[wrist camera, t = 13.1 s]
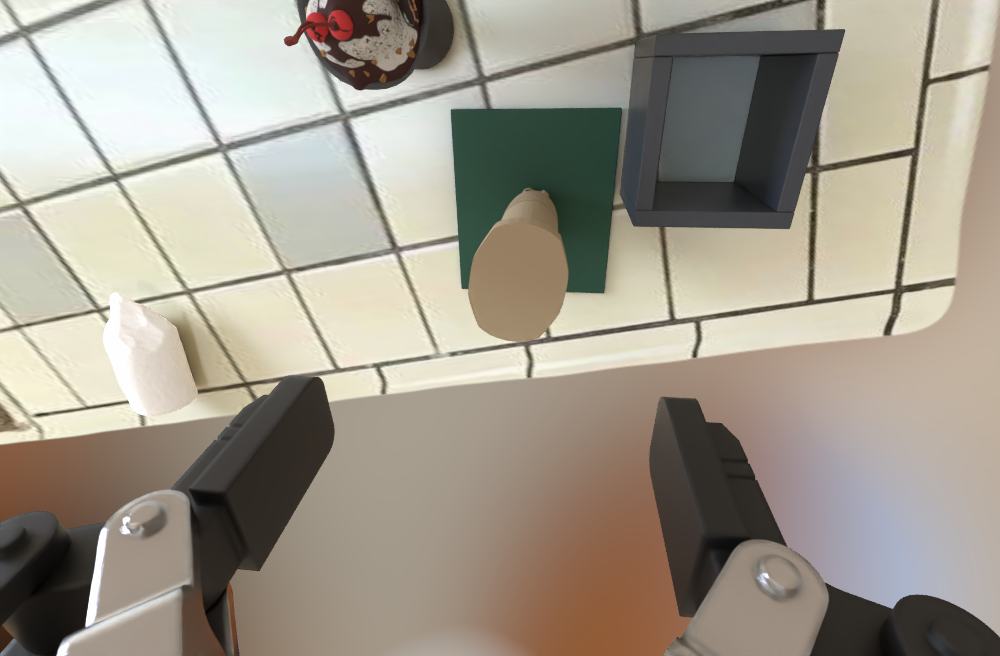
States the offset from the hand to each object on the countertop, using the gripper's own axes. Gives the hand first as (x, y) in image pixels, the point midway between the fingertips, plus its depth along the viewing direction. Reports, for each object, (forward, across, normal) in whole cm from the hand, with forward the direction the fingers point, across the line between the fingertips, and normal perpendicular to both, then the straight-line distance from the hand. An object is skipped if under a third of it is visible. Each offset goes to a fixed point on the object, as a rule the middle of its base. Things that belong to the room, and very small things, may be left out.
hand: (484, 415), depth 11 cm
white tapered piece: (+28, +36, +16) cm, 49 cm away
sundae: (+29, +8, -9) cm, 31 cm away
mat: (+28, 0, +3) cm, 28 cm away
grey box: (+28, -11, -3) cm, 30 cm away
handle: (+28, 0, +3) cm, 28 cm away
